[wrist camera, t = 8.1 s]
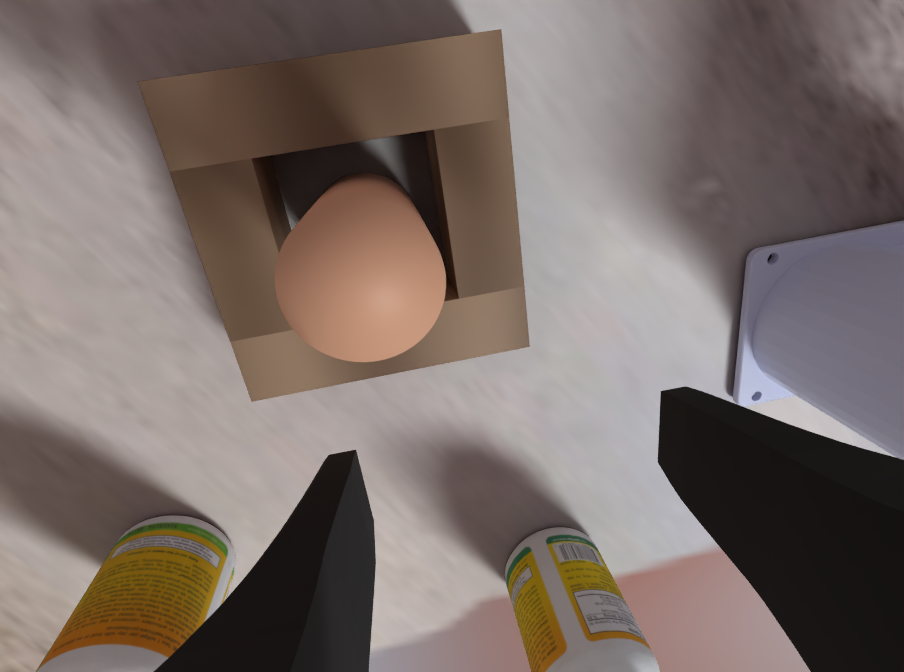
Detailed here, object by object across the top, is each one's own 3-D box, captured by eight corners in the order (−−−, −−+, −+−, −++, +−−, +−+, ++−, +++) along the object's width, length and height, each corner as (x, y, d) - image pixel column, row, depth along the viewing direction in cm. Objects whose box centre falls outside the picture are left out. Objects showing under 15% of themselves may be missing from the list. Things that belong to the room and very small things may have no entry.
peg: (403, 161, 18) (423, 179, 11) (429, 263, 20) (461, 338, 13) (298, 187, 18) (247, 224, 11) (333, 288, 20) (308, 380, 12)
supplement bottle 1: (98, 521, 22) (-87, 782, 13) (222, 502, 23) (125, 740, 14) (136, 605, 24) (-1, 879, 15) (249, 586, 25) (180, 839, 16)
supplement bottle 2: (578, 508, 26) (682, 697, 17) (607, 571, 28) (712, 768, 19) (487, 551, 26) (544, 759, 18) (522, 610, 28) (589, 822, 20)
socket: (480, 45, 17) (501, 29, 14) (509, 319, 21) (529, 346, 19) (176, 90, 16) (137, 81, 14) (267, 365, 20) (251, 401, 18)
